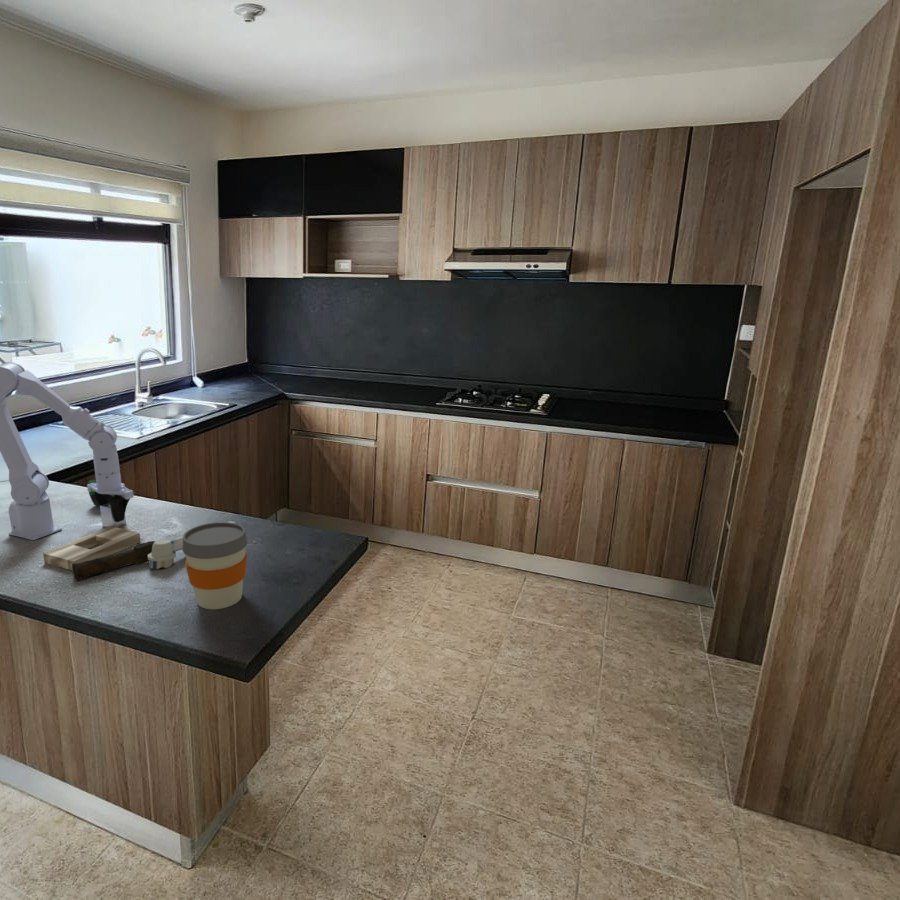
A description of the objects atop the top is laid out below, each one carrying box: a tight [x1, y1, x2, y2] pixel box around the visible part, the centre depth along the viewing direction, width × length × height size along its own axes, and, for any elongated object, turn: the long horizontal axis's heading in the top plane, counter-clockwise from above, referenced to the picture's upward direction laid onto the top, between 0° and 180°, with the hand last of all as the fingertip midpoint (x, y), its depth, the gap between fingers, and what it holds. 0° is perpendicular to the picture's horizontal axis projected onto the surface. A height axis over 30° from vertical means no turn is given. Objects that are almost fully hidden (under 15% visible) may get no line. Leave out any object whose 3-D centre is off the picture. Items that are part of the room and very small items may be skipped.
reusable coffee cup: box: [182, 521, 248, 610], centre depth 125 cm, size 13×13×15 cm
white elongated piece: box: [148, 520, 239, 570], centre depth 148 cm, size 5×7×25 cm
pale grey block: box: [99, 503, 127, 528], centre depth 161 cm, size 4×4×6 cm
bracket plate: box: [42, 526, 141, 572], centre depth 146 cm, size 10×18×2 cm, turn 159°
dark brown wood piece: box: [72, 540, 157, 582], centre depth 138 cm, size 19×4×5 cm, turn 131°
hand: (113, 519), depth 162 cm, fingers closed on pale grey block, 4 cm apart
